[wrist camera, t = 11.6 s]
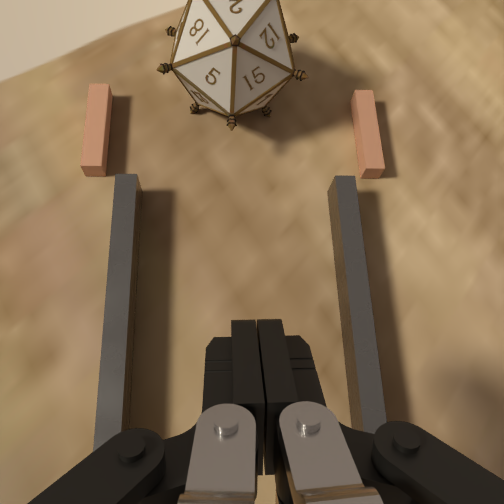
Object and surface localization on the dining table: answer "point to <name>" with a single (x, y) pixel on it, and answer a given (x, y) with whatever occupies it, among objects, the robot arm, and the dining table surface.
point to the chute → (349, 293)
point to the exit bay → (101, 119)
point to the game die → (232, 55)
